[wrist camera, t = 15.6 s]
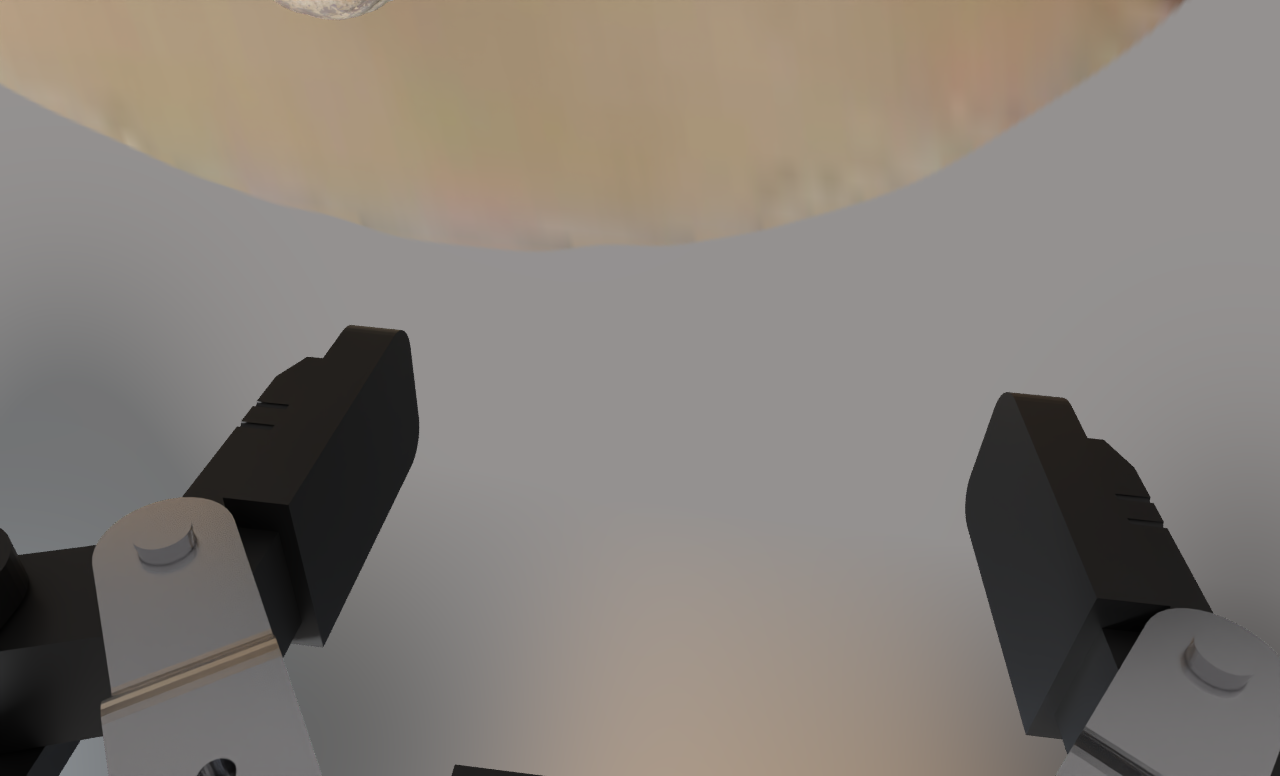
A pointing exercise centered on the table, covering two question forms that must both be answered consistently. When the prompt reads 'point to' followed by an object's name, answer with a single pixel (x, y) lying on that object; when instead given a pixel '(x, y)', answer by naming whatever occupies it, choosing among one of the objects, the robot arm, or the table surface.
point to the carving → (332, 7)
